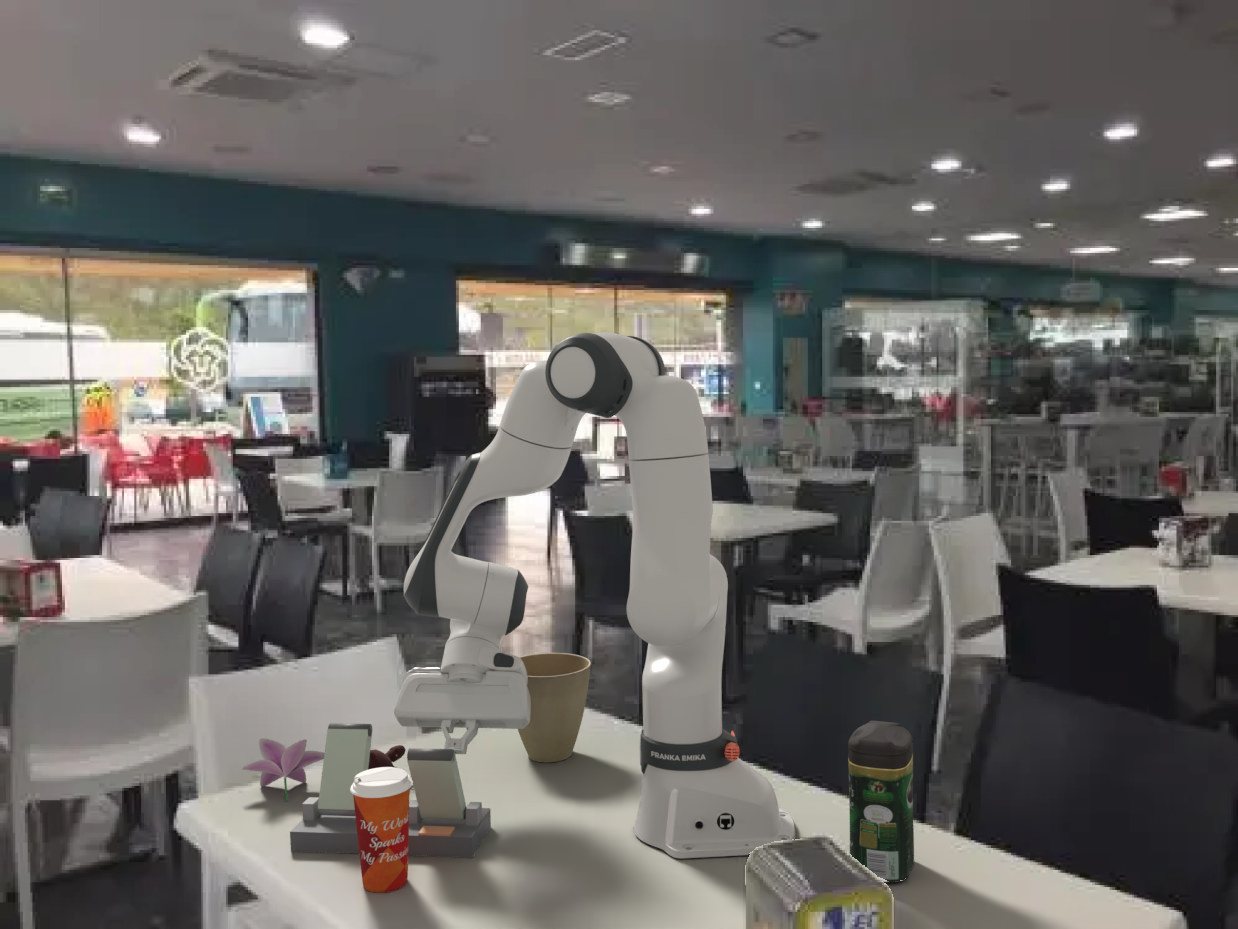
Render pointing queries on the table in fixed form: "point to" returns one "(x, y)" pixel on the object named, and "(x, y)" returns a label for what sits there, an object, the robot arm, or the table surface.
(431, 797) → the lever
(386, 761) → the icecream
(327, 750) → the lever
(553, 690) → the plant pot
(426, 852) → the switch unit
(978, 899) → the table surface
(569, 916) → the table surface
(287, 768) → the lily
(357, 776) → the paper cup
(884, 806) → the coffee jar
